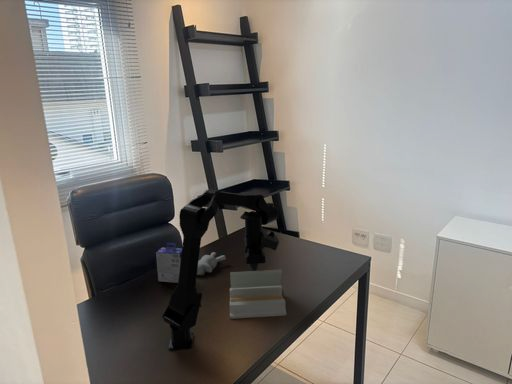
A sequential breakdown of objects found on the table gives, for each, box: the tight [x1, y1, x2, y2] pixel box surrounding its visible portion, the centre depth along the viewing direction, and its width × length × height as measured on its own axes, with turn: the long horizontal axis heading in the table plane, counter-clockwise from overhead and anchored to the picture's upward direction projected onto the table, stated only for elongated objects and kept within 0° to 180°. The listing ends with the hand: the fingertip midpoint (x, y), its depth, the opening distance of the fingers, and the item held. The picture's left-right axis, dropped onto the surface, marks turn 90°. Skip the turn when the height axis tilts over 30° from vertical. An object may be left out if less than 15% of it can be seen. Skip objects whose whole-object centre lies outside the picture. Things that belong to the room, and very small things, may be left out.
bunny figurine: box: [197, 251, 227, 276], centre depth 151 cm, size 10×5×15 cm
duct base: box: [229, 284, 287, 319], centre depth 126 cm, size 16×18×4 cm
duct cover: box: [229, 269, 283, 288], centre depth 126 cm, size 10×17×1 cm
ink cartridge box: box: [155, 242, 182, 284], centre depth 142 cm, size 10×6×14 cm, turn 78°
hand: (254, 270), depth 130 cm, fingers closed
